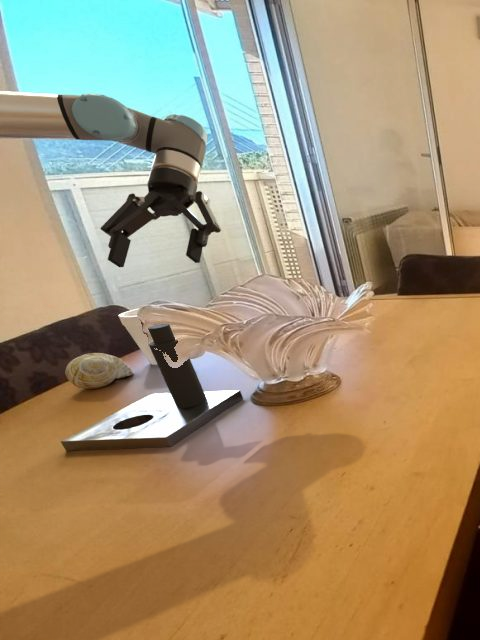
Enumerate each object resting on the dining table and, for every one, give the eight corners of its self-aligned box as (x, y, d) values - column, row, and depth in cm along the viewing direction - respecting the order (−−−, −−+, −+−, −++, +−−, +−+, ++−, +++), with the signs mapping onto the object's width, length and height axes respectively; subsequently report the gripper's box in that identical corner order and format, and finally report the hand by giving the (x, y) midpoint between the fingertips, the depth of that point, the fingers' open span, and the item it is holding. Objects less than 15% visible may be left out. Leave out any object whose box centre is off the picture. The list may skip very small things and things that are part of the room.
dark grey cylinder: (170, 408, 91) (134, 330, 85) (189, 397, 95) (156, 322, 89) (194, 407, 91) (160, 329, 85) (212, 396, 96) (181, 321, 89)
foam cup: (189, 350, 126) (169, 303, 121) (192, 359, 120) (172, 310, 115) (141, 360, 120) (118, 311, 115) (142, 370, 114) (118, 319, 109)
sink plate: (65, 451, 82) (60, 441, 81) (156, 401, 99) (152, 393, 98) (170, 447, 82) (166, 437, 82) (243, 398, 99) (240, 390, 98)
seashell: (125, 365, 115) (117, 334, 110) (142, 390, 112) (134, 359, 107) (64, 379, 107) (51, 346, 102) (80, 406, 105) (68, 373, 99)
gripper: (248, 188, 108) (235, 267, 100) (123, 193, 104) (99, 275, 96) (227, 163, 101) (211, 246, 93) (92, 167, 97) (63, 254, 89)
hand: (154, 261), depth 95 cm, fingers open, 13 cm apart
